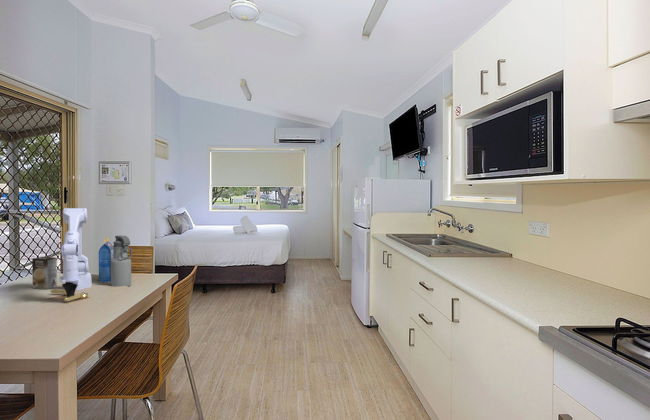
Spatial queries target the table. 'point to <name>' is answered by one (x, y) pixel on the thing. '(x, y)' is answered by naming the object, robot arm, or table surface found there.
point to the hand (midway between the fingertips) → (70, 298)
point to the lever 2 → (76, 296)
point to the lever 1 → (58, 291)
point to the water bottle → (121, 262)
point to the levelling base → (61, 299)
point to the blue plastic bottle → (105, 261)
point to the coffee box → (44, 272)
